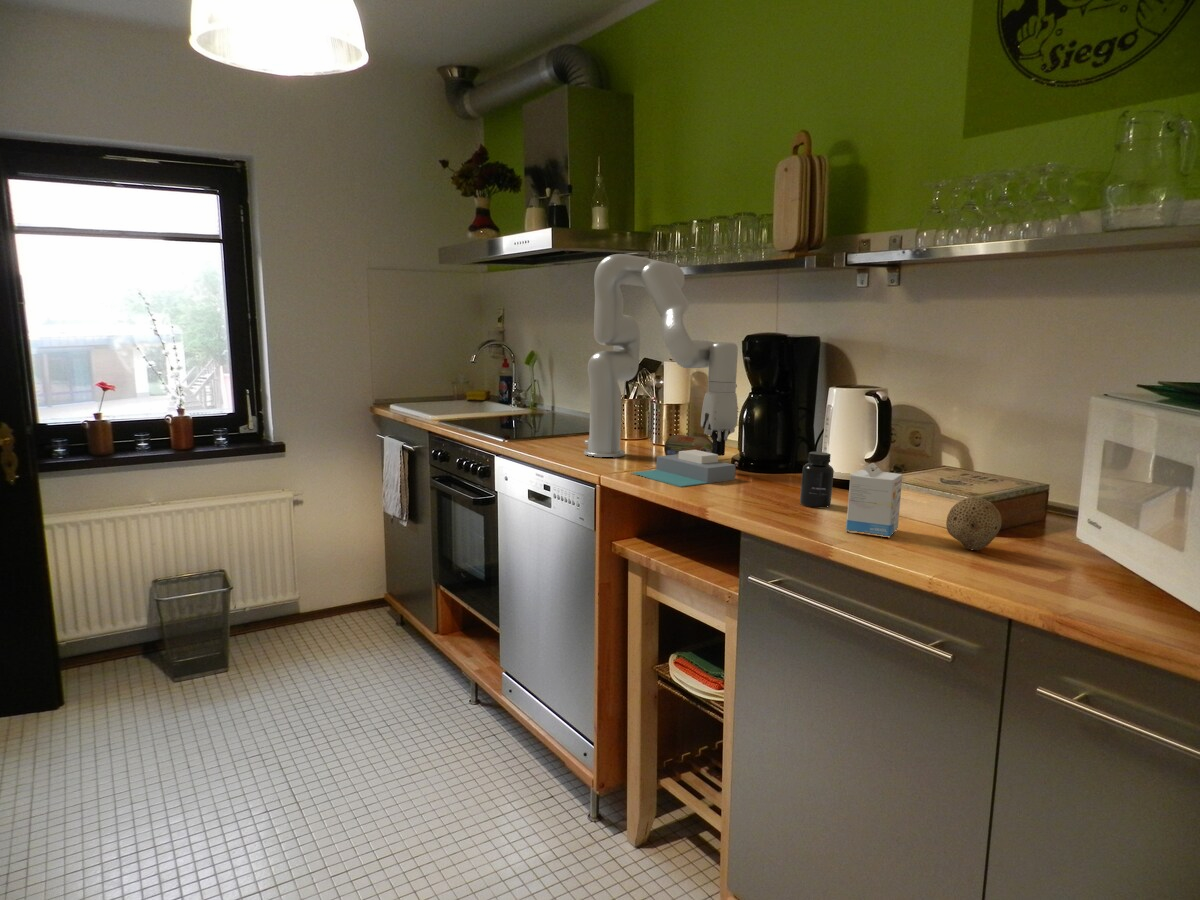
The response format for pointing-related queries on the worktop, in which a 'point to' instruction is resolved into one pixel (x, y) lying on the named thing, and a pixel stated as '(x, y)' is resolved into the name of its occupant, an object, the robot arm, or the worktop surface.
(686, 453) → the white rectangular block
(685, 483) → the mat
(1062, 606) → the worktop surface
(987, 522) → the natural sponge
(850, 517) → the ink box
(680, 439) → the tin
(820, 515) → the worktop surface
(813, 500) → the supplement bottle
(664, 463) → the grey flat block
